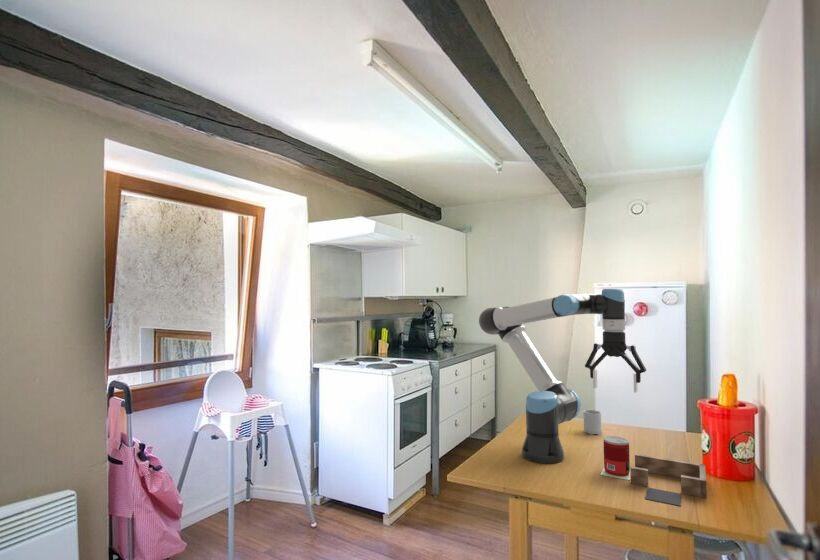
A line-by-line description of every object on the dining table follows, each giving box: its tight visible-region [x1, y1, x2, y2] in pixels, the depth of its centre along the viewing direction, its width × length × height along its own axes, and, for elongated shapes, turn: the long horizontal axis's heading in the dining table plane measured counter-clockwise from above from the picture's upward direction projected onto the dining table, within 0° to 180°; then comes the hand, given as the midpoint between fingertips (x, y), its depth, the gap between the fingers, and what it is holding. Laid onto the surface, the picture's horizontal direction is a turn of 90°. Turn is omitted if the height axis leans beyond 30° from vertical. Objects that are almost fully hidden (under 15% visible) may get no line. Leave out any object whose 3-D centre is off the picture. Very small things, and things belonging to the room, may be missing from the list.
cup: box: [583, 409, 602, 435], centre depth 201 cm, size 7×10×9 cm
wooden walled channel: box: [630, 453, 707, 499], centre depth 147 cm, size 20×15×5 cm
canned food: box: [603, 435, 631, 476], centre depth 156 cm, size 8×8×11 cm
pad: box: [600, 467, 631, 481], centre depth 155 cm, size 9×10×1 cm
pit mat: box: [644, 486, 682, 507], centre depth 137 cm, size 9×9×1 cm
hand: (615, 389), depth 165 cm, fingers open, 13 cm apart
